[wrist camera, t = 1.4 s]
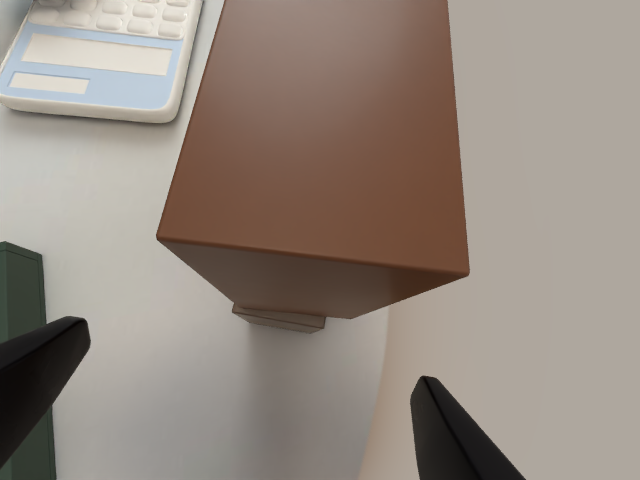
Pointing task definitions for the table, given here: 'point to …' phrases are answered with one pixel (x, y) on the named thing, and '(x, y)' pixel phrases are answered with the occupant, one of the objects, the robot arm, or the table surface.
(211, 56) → the chocolate box
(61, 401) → the table surface
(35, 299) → the green tray
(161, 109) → the calculator
